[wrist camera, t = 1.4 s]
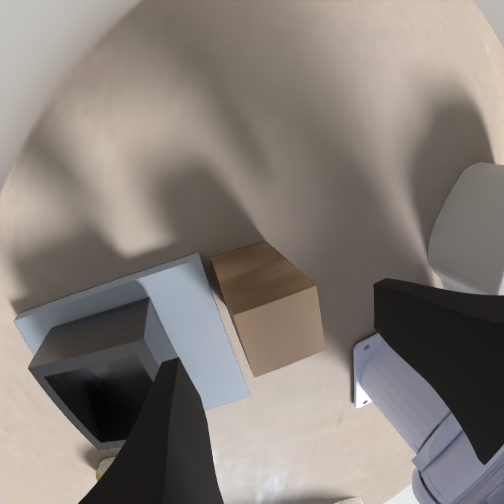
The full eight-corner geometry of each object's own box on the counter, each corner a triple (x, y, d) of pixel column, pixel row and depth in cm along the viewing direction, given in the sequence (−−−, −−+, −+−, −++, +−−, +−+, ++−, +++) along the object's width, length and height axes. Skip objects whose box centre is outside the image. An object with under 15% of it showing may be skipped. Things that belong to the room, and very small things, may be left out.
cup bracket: (150, 293, 13) (142, 346, 9) (208, 409, 17) (221, 463, 12) (53, 323, 12) (24, 374, 8) (127, 427, 16) (125, 479, 11)
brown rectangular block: (265, 240, 15) (316, 285, 10) (276, 289, 16) (325, 349, 11) (210, 257, 15) (233, 315, 9) (226, 306, 16) (254, 377, 10)
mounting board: (198, 252, 14) (200, 258, 13) (247, 386, 18) (250, 396, 17) (19, 313, 13) (13, 321, 12) (96, 422, 16) (94, 432, 15)
